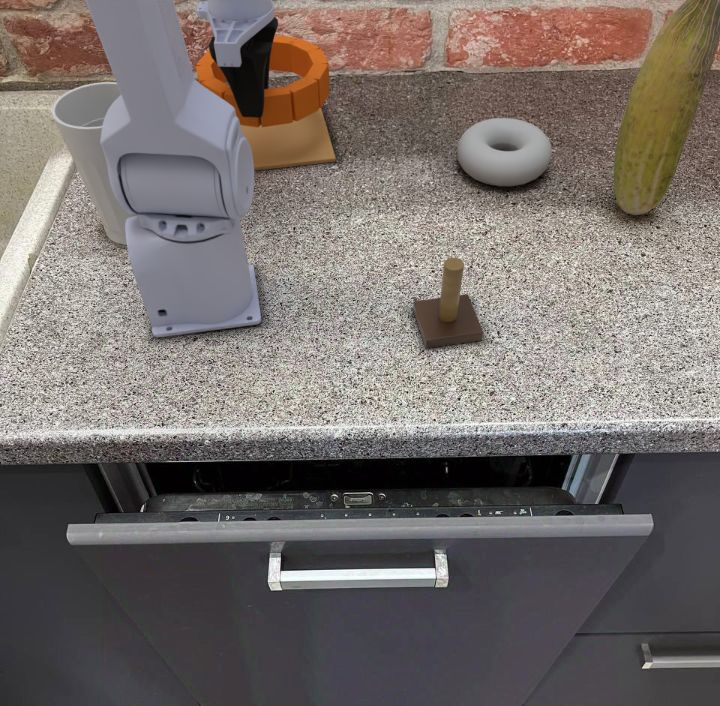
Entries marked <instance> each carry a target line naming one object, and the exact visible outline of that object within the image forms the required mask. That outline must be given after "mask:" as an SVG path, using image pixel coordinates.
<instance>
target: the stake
mask: <svg viewBox="0 0 720 706" xmlns="http://www.w3.org/2000/svg"><path fill="white" fill-rule="evenodd" d="M464 268H465V263H464V261H463V260H462V259H460V258H459V257H449V258H447V259H445V260H444V262H443V270H442V280H441V288H440V297H436V298H428V299H420V300H414V301H413V302H412V311H413V314H414V317H415V320H416V324H417V327H418V329H419V332H420V335H421V338H422V342H423V345H424V347H425V349H430V348H431V349H432V348H439V347H444V346H445V347H446V346H452V345H458V344H459V345H460V344H466V343H473V342H474V343H475V342H481V341H482V340H483V336H484V330H483V328H482V325H481V323H480V320H479V317H478V316H477V313H476V310H475V308H474V306H473V303H472V301H471V299H470V296H469V294H468V293H466V294H465V293H464V294H461V289H462V284H463V276H464Z"/></svg>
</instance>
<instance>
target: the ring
mask: <svg viewBox="0 0 720 706" xmlns="http://www.w3.org/2000/svg"><path fill="white" fill-rule="evenodd" d="M329 68H330V66H329V61H328V59H327V57H326V55H325V53H324V52H323V50H322V48H320V46H318V45H316V44H313V43H311V42H309V41H307V40H305V39H302V38H301V37H299V38H297V36H287V35H280V34H279V35H278V34H275V36H274V40H273V44H272V50H271V56H270V66H269V71H280V72H288V73H289V72H290V73H293V74H295V75H297V76H299V77H301V78H299V79H297V80H295V81H293V82H291V83H289V84H286V85H285V86H278V87H271V88H270V87H269V88H268V89H264V109H263V115H262V117H242V115H241V113H240V111H239V108H238V106H237V103H236V101H235V98H234V95H233V93H232V90H231V88H230V85H229V84H227V83H226V82H228V81H227V79H226V77H225V75H224V74H223V72H222V70H221V69H220V67H219V66H218V65H217V63H216V62H215V61H214V60H213V59H212V57H211V54H210V51H209V50H207V51H206V52H205V53H204V54H203V56H202V57H201V58H200V59H199V60H198V61H197V63H196V64H195V71H196V75H197V80H198V81H197V82H198V83H200V84H201V85H202V86H204V87H205V88H207V89H208V90H210V91H211V92H213V93H214V94H216V95H217V96H219V97H220V98H222V99H223V100H225V101H226V102H227V103H229V104H230V105H232V106H233V107H234V108H235V111H236V116H237V118H238V119H239V122H240V125H243V126H251V127H259V126H260V125H261V126H262V127H268V126H275V125H281V124H288V123H293V120H294V121H299V120H301V119H302V118H304V117H306V116H308V115H310V114H312V113H314V112H316V111H318V110H319V108H321V109H322V108H323V106H324V104H325V102H326V100H328V97H329V96H330V94H331V93H330V92H331V88H330V87H331V85H330V69H329Z"/></svg>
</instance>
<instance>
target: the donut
mask: <svg viewBox="0 0 720 706" xmlns="http://www.w3.org/2000/svg"><path fill="white" fill-rule="evenodd" d="M456 147H457V148H456V149H457V150H456V151H457V161H458V164H459V165H460V167H461V168H462V169H463V171H464V172H465V173H466V174H467V175H468V176H470V177H471V178H473V179H474V180H475V181H478V182H481V183H483V184H486V185H489V186H490V185H491V186H495V187H515V186H521V185H525V184H527V183H530V182H532V181H534V180H536V179H538V178H539V177H540V176H541V175H542V174H544V173H545V171H546V170H547V169H548V167H549V164H550V161H551V160H552V156H553V149H552V145H551V141H550V139H549V137H548V136H547V135H546V133H545V132H544V131H543V130H542V129H541V128H539V127H537V126H536V125H534V124H533V123H530V122H527V121H525V120H522V119H517V118H511V117H496V118H495V117H494V118H489V119H484V120H482V121H479V122H476V123H474V124H473V125H472V126H470V127H469V128H467V129H466V130H465V131H464V132H463V133H462V135H461V136H460V139H459V141H458V143H457V146H456Z"/></svg>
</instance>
